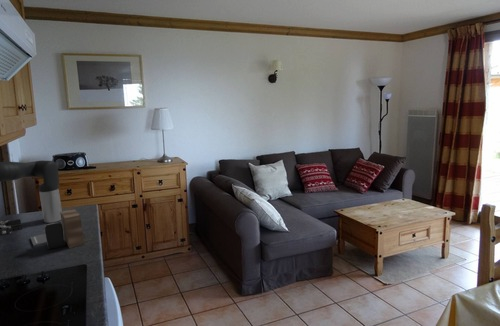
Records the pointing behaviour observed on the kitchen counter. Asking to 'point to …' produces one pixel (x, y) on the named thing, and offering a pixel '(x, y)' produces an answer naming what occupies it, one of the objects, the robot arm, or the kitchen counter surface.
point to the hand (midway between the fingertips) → (21, 224)
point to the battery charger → (54, 235)
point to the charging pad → (39, 240)
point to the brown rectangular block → (72, 228)
